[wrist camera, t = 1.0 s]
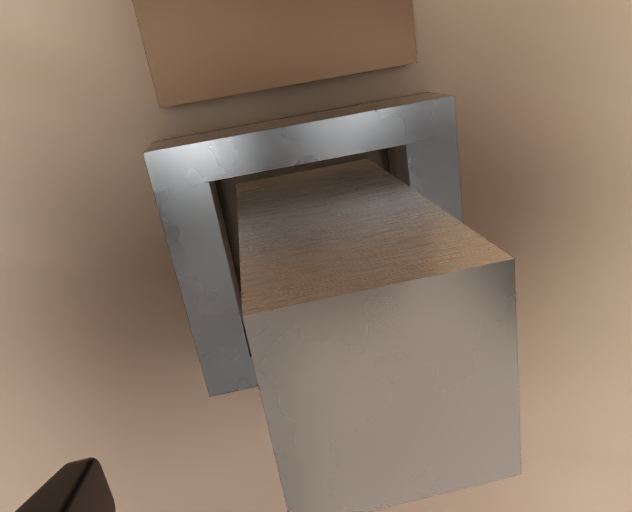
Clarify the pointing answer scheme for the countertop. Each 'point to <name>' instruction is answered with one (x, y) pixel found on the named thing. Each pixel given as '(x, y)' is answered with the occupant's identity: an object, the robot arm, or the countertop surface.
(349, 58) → the walnut pad
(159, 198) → the square metal frame
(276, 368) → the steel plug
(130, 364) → the countertop surface
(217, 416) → the countertop surface
